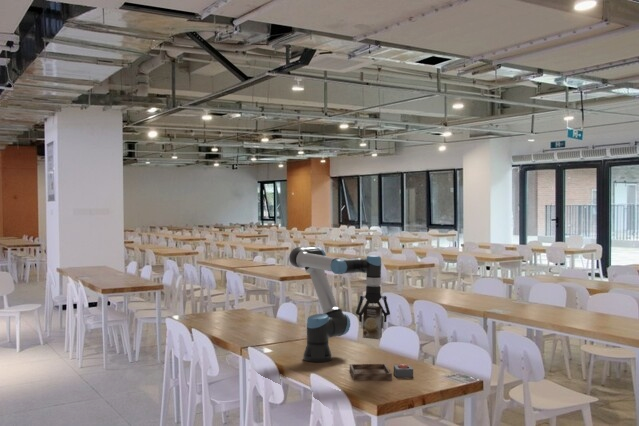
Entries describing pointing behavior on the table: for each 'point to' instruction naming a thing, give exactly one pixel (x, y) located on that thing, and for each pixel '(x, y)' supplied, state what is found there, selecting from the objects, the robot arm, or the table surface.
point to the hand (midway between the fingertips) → (372, 328)
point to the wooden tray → (370, 372)
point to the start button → (403, 366)
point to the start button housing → (403, 372)
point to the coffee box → (372, 322)
